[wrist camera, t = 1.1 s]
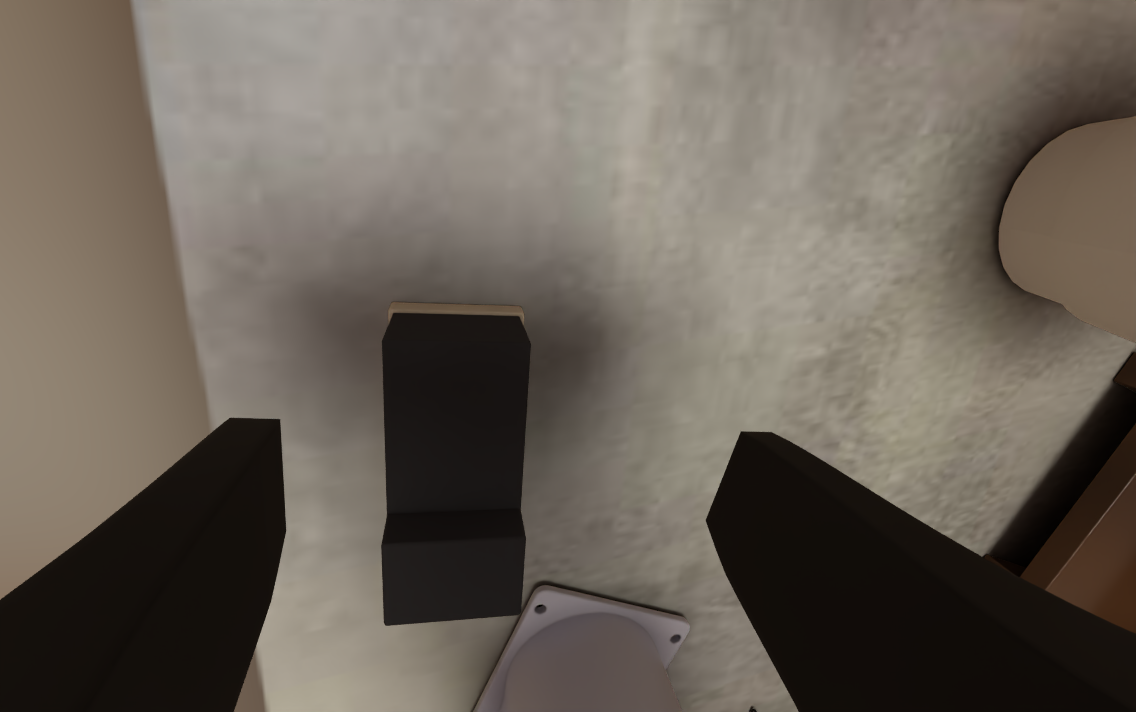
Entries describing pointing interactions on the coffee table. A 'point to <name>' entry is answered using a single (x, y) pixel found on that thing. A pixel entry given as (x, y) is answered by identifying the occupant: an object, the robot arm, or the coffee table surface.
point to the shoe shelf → (1095, 539)
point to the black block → (454, 461)
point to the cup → (1078, 225)
